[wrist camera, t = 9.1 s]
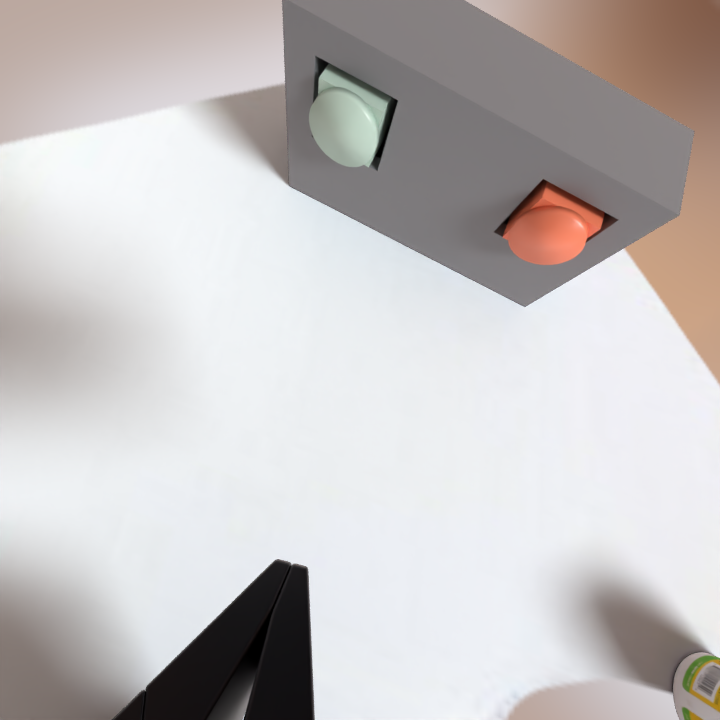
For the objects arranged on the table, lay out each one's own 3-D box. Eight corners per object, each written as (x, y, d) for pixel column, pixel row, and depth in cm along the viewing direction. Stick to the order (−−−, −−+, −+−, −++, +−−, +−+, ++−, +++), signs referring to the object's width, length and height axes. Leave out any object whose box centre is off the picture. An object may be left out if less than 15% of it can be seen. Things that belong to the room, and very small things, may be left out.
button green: (367, 178, 21) (382, 118, 17) (307, 147, 20) (310, 79, 16) (395, 127, 22) (415, 61, 18) (339, 98, 22) (348, 24, 18)
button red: (549, 273, 21) (604, 237, 17) (494, 245, 21) (538, 201, 17) (566, 219, 23) (620, 174, 19) (514, 192, 22) (559, 140, 19)
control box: (525, 306, 27) (679, 215, 16) (289, 185, 26) (282, -4, 15) (543, 249, 29) (694, 131, 18) (322, 133, 28) (339, -71, 17)
